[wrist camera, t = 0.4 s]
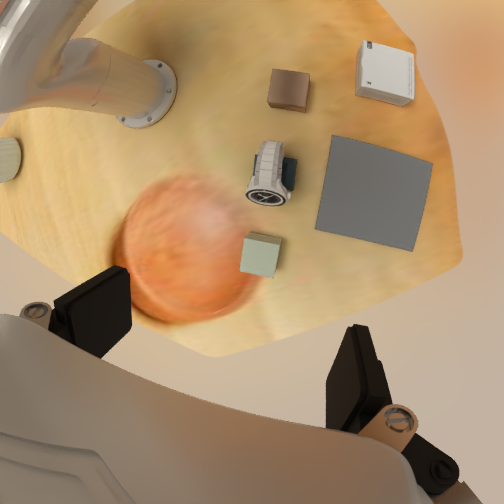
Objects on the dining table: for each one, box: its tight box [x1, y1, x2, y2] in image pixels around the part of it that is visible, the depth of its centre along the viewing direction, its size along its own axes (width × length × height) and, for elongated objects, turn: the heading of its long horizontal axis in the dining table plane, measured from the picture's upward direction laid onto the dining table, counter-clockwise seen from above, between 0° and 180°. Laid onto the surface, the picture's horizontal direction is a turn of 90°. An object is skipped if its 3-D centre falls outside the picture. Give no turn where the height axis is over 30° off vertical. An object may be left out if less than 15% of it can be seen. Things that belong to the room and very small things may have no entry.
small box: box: [355, 40, 415, 107], centre depth 30 cm, size 8×8×5 cm
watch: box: [245, 141, 297, 206], centre depth 34 cm, size 6×8×11 cm
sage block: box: [239, 232, 282, 278], centre depth 42 cm, size 5×5×4 cm
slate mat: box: [315, 135, 433, 252], centre depth 37 cm, size 16×14×1 cm
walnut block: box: [267, 69, 310, 112], centre depth 34 cm, size 5×5×4 cm
